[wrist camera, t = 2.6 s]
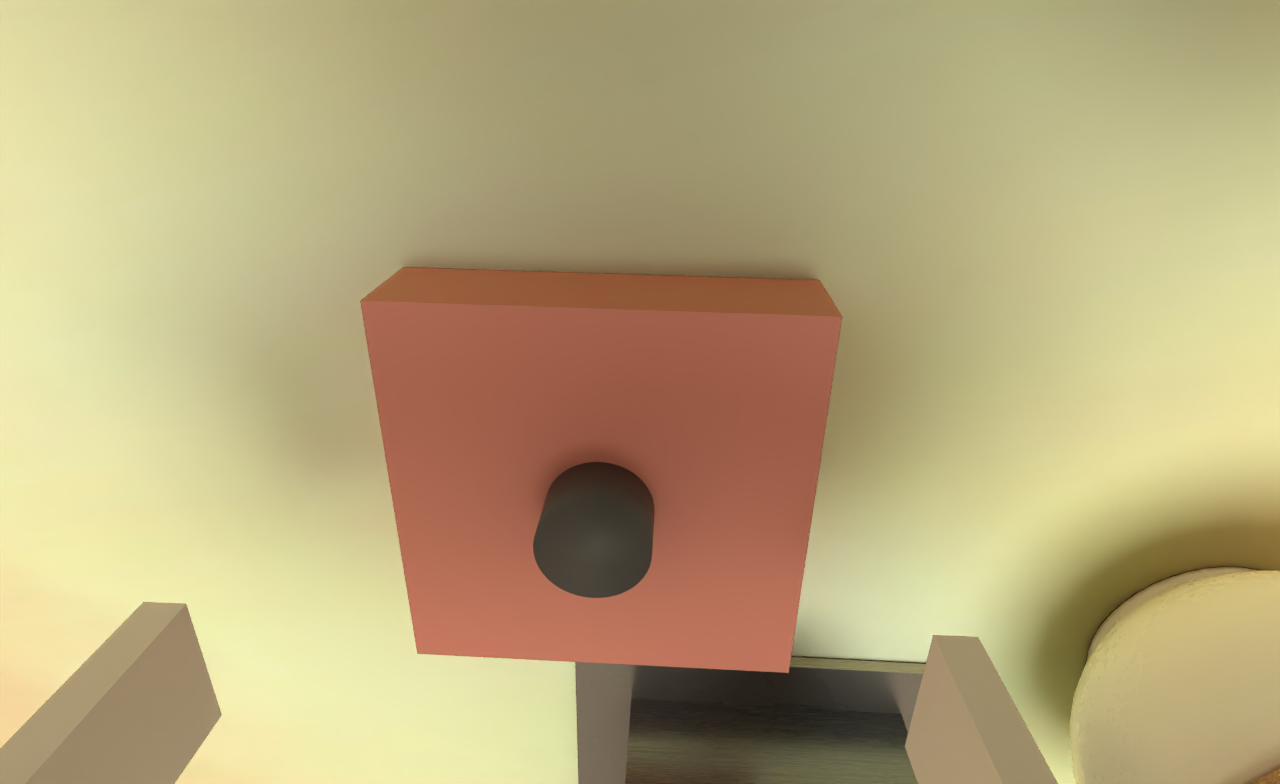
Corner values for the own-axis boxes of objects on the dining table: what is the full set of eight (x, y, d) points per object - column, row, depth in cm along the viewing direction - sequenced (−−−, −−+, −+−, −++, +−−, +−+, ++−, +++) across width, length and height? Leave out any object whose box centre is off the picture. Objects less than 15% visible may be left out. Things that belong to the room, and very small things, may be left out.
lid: (409, 262, 17) (325, 326, 13) (816, 275, 17) (860, 345, 13) (449, 579, 22) (395, 702, 18) (774, 595, 21) (797, 724, 17)
